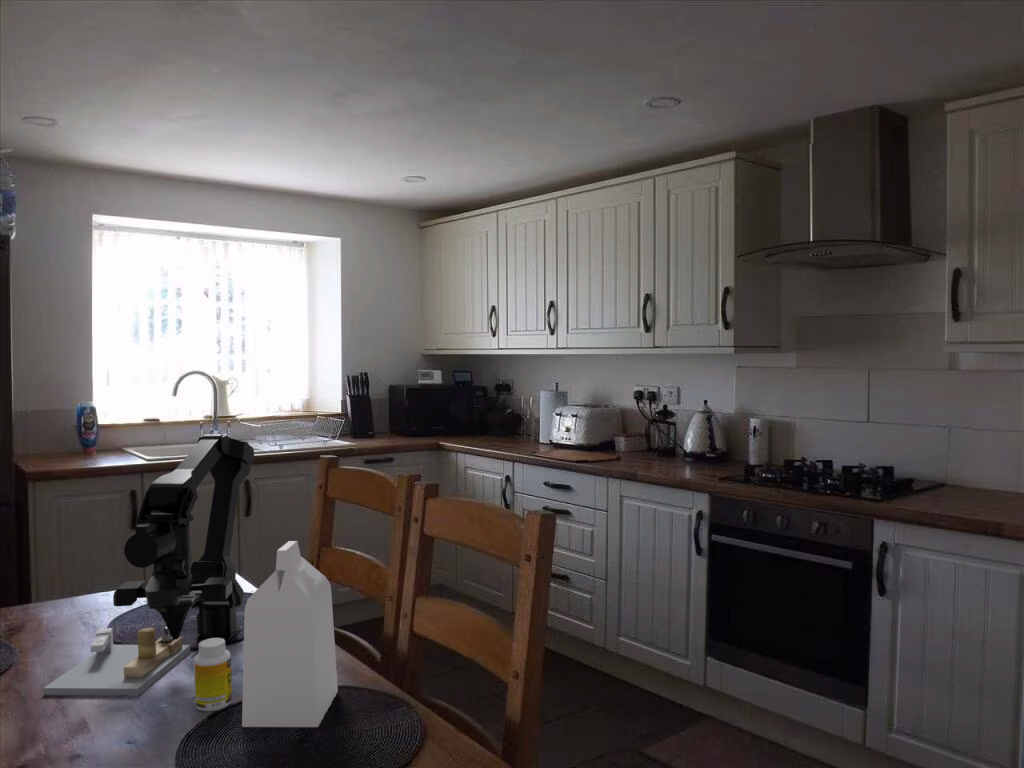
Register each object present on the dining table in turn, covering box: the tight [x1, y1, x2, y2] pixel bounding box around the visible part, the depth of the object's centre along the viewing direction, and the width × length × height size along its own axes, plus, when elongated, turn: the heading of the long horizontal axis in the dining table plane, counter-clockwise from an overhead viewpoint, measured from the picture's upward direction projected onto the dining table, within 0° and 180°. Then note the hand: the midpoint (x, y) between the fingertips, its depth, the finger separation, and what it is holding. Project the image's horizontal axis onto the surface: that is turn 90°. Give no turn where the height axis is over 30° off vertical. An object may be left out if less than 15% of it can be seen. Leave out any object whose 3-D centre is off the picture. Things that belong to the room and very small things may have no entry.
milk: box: [241, 540, 339, 728], centre depth 125 cm, size 12×12×26 cm
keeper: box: [90, 627, 114, 654], centre depth 145 cm, size 2×8×4 cm, turn 17°
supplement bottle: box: [193, 638, 233, 712], centre depth 127 cm, size 6×6×10 cm
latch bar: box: [124, 627, 183, 678], centre depth 142 cm, size 14×4×6 cm, turn 177°
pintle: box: [160, 625, 171, 643], centre depth 147 cm, size 2×2×4 cm
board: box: [43, 644, 191, 697], centre depth 141 cm, size 16×19×1 cm
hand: (176, 638), depth 141 cm, fingers closed
